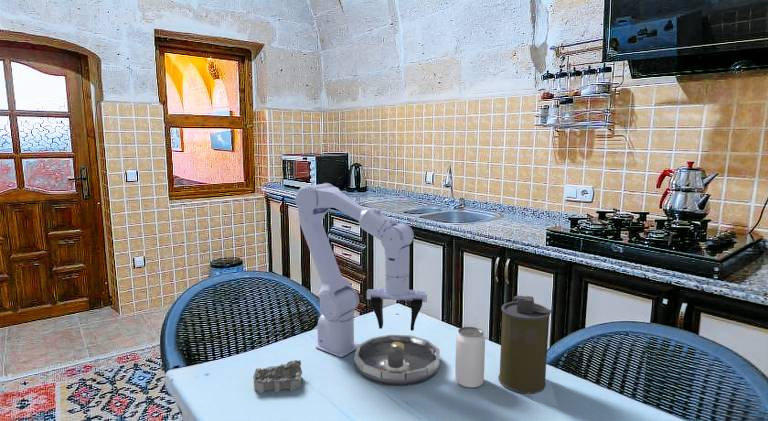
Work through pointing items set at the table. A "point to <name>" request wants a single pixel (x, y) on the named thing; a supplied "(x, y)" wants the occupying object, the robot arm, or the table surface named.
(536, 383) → the canister
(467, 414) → the table surface
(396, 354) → the gear
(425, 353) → the bowl
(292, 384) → the egg carton
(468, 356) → the can
